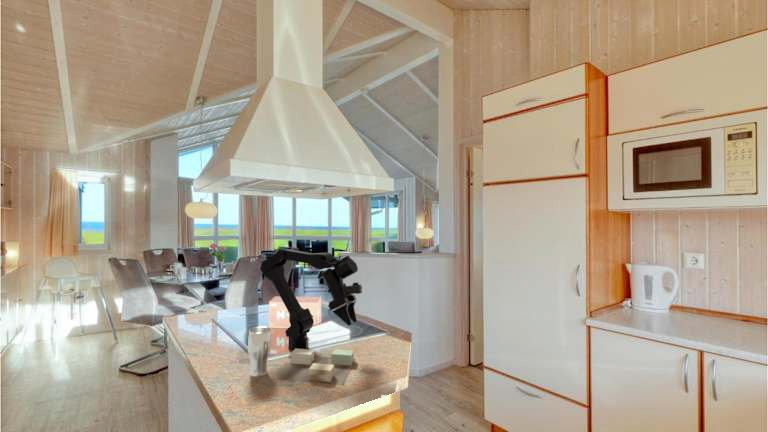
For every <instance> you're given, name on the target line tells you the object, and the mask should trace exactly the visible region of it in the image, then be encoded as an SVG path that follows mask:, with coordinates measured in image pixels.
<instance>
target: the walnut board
mask: <svg viewBox="0 0 768 432" xmlns="http://www.w3.org/2000/svg"><path fill="white" fill-rule="evenodd" d="M331 358H332V356H320V355H314V360H313V362H312V363H311V364H310V365H306V364H293V363H290V362H288V364H287V365H286V366H285V367H284V368H283V369H282V370H281V371H280V373H279V374H278V375H277V376H276V377H275V378H274V380H277V381H278V380H279V381H289V382H299V383H300V382H302V383H315V384H327V385H335V386H336V385H338V386H339V385H340V386H344V385H345V383H346V381H347V378H348V376H349V375H350V373H351V370H352V369H353V368H352V367H353V365H354V363H355V362H356V359H355V358H354V359H353V362H352V365H351V366H349V365H337V364H331ZM313 363H318V364H331V365H334V376H333V378H332V380H331V382H325V381H313V380H309V368H310V367H311V365H312V364H313Z"/></svg>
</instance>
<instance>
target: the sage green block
mask: <svg viewBox="0 0 768 432" xmlns="http://www.w3.org/2000/svg"><path fill="white" fill-rule="evenodd" d="M354 353H355V351H354V350H350V349H349V350H347V349H337V348H336V349H334V350H333V352H332V353H331V357H332V358H331V364H337V365H349V366H351V365H352V362H353V359H355V358H354V356H355V355H354Z"/></svg>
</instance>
